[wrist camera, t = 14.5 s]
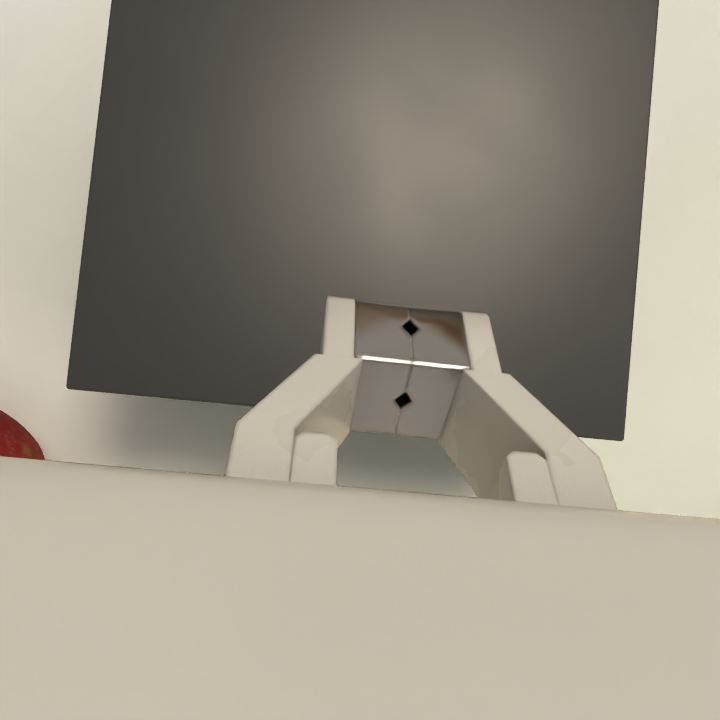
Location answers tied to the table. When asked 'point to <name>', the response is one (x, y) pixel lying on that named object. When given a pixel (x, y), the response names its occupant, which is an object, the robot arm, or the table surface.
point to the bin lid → (365, 189)
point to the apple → (17, 440)
